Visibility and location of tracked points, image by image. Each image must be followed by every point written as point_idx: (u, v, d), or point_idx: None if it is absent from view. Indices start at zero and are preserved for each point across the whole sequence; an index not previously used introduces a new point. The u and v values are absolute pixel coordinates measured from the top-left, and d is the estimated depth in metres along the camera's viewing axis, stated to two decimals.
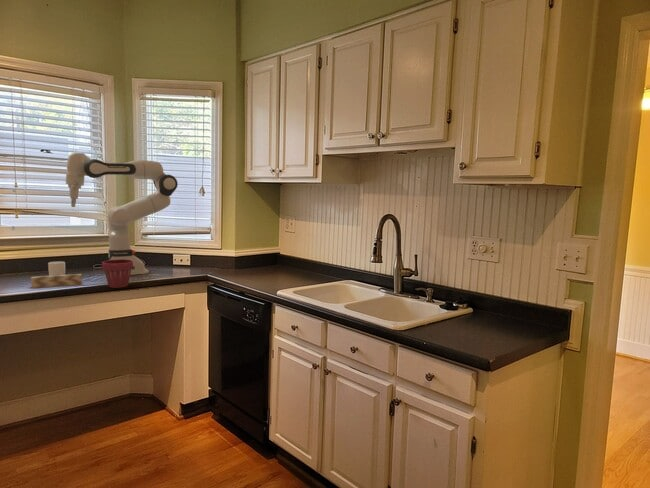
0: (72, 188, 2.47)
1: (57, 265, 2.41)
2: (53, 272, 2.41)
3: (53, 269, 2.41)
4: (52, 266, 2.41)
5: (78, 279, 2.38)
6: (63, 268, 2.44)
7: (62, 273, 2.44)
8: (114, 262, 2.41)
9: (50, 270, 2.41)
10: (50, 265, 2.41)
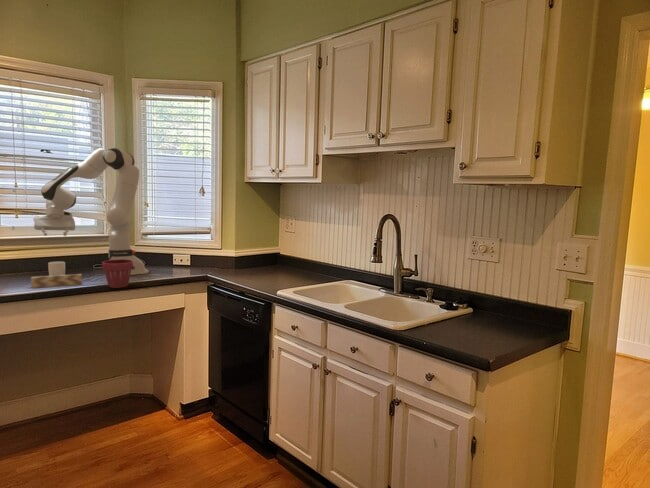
0: None
1: (57, 265, 2.41)
2: (53, 272, 2.41)
3: (53, 269, 2.41)
4: (52, 266, 2.41)
5: (78, 279, 2.38)
6: (63, 268, 2.44)
7: (62, 273, 2.44)
8: (114, 262, 2.41)
9: (50, 270, 2.41)
10: (50, 265, 2.41)
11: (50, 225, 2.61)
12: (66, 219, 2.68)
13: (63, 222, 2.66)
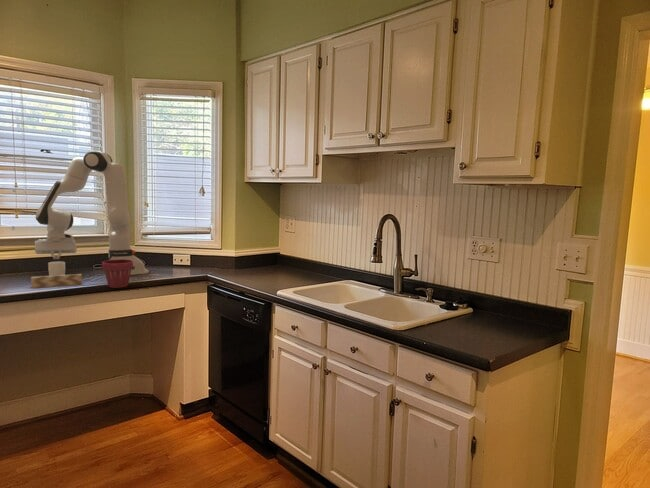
0: None
1: (57, 265, 2.41)
2: (53, 272, 2.41)
3: (53, 269, 2.41)
4: (52, 266, 2.41)
5: (78, 279, 2.38)
6: (63, 268, 2.44)
7: (62, 273, 2.44)
8: (114, 262, 2.41)
9: (50, 270, 2.41)
10: (50, 265, 2.41)
11: (51, 249, 2.58)
12: (67, 241, 2.65)
13: (64, 245, 2.63)
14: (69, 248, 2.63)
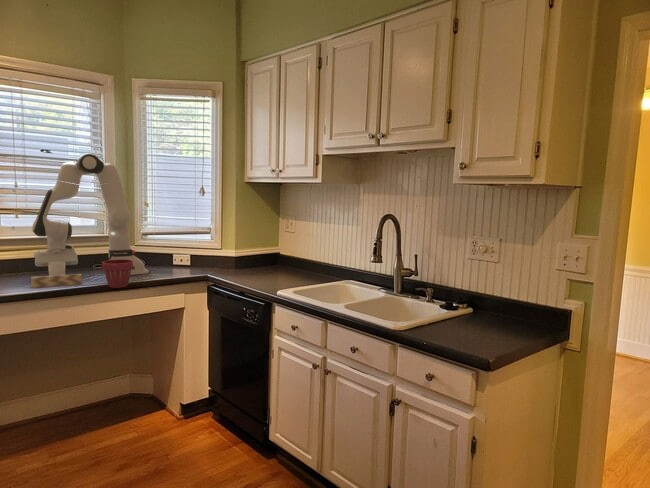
0: None
1: (57, 265, 2.41)
2: (53, 272, 2.41)
3: (53, 269, 2.41)
4: (52, 266, 2.41)
5: (78, 279, 2.38)
6: (63, 268, 2.44)
7: (62, 273, 2.44)
8: (114, 262, 2.41)
9: (50, 270, 2.41)
10: (50, 265, 2.41)
11: (51, 261, 2.49)
12: (68, 252, 2.55)
13: (65, 256, 2.54)
14: (70, 260, 2.53)
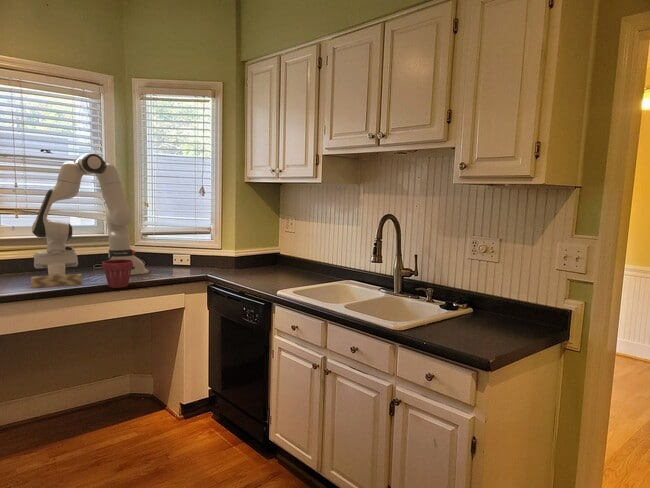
0: None
1: (57, 267, 2.35)
2: (53, 274, 2.35)
3: (53, 271, 2.35)
4: (51, 268, 2.35)
5: (78, 279, 2.38)
6: (63, 270, 2.38)
7: None
8: (114, 262, 2.41)
9: (50, 272, 2.35)
10: (50, 267, 2.35)
11: (51, 262, 2.43)
12: (68, 254, 2.49)
13: (65, 258, 2.48)
14: (70, 261, 2.47)
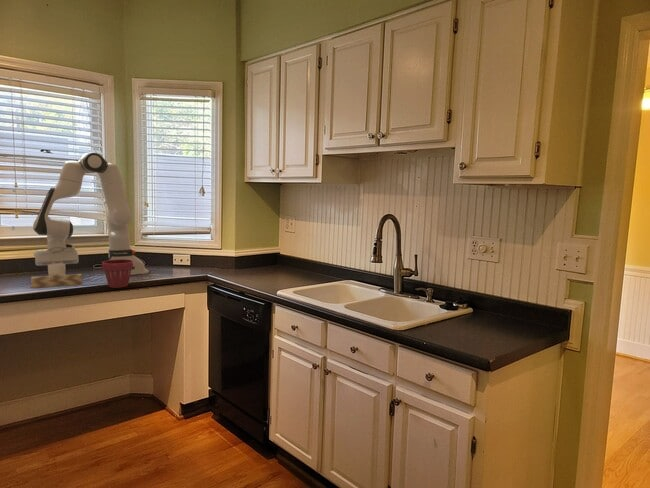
0: None
1: (57, 267, 2.35)
2: (53, 274, 2.35)
3: (53, 271, 2.35)
4: (52, 268, 2.34)
5: (78, 279, 2.38)
6: (63, 270, 2.38)
7: None
8: (114, 262, 2.41)
9: (50, 272, 2.35)
10: (50, 267, 2.35)
11: (52, 260, 2.46)
12: (68, 251, 2.52)
13: (65, 255, 2.50)
14: (71, 258, 2.50)
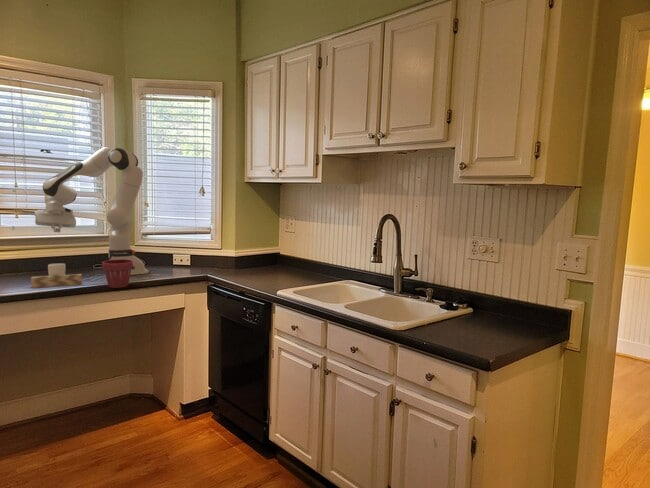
0: None
1: (57, 267, 2.35)
2: (53, 274, 2.35)
3: (53, 271, 2.35)
4: (52, 268, 2.34)
5: (78, 279, 2.38)
6: (63, 270, 2.38)
7: None
8: (114, 262, 2.41)
9: (50, 272, 2.35)
10: (50, 267, 2.35)
11: (52, 221, 2.61)
12: (67, 215, 2.68)
13: (64, 219, 2.66)
14: (69, 222, 2.67)
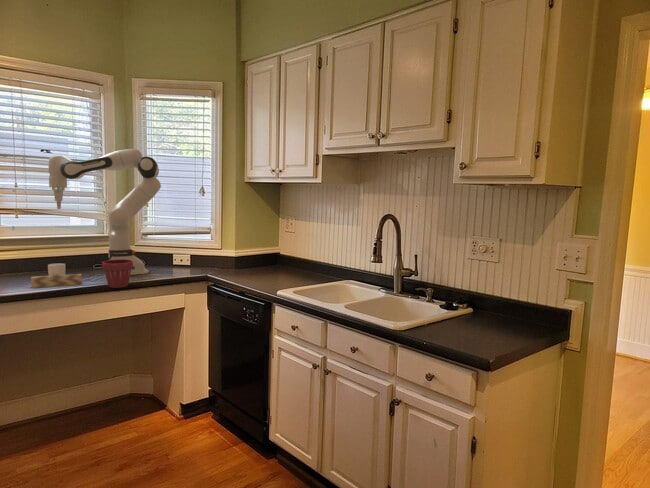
0: (56, 191, 2.54)
1: (57, 267, 2.35)
2: (53, 274, 2.35)
3: (53, 271, 2.35)
4: (52, 268, 2.34)
5: (78, 279, 2.38)
6: (63, 270, 2.38)
7: None
8: (114, 262, 2.41)
9: (50, 272, 2.35)
10: (50, 267, 2.35)
11: None
12: (62, 190, 2.69)
13: None
14: None
